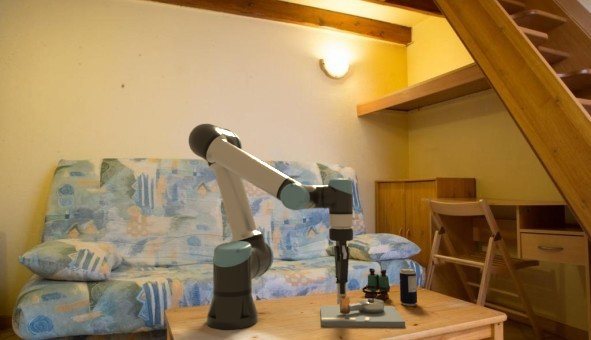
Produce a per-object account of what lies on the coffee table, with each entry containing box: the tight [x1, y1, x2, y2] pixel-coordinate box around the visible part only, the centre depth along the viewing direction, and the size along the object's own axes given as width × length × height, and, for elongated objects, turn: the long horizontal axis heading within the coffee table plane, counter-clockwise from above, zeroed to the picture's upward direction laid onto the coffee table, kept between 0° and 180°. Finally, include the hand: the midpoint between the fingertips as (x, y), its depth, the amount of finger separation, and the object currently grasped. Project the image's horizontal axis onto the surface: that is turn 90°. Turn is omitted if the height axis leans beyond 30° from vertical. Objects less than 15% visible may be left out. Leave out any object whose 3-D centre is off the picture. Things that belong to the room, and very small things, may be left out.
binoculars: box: [361, 267, 391, 302], centre depth 142 cm, size 9×11×10 cm
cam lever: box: [339, 295, 385, 314], centre depth 120 cm, size 16×8×5 cm, turn 116°
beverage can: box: [399, 267, 418, 307], centre depth 134 cm, size 6×6×12 cm
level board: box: [319, 305, 406, 328], centre depth 119 cm, size 24×16×2 cm, turn 88°
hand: (341, 303), depth 119 cm, fingers closed
